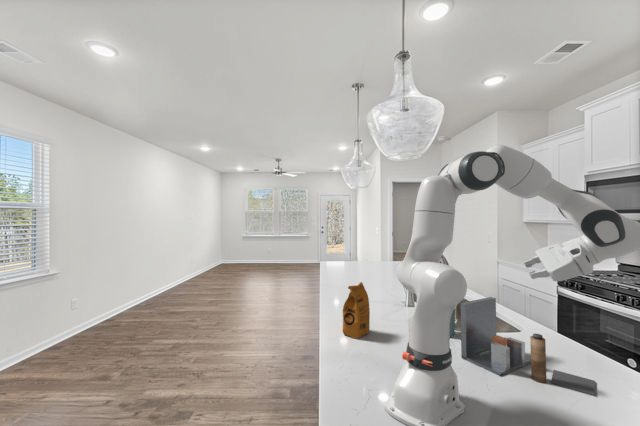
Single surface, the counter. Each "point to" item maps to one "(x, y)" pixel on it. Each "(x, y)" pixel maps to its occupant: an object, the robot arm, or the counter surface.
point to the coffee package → (356, 312)
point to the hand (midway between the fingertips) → (527, 270)
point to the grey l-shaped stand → (488, 339)
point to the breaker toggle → (499, 340)
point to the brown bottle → (538, 358)
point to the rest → (573, 382)
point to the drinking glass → (452, 324)
